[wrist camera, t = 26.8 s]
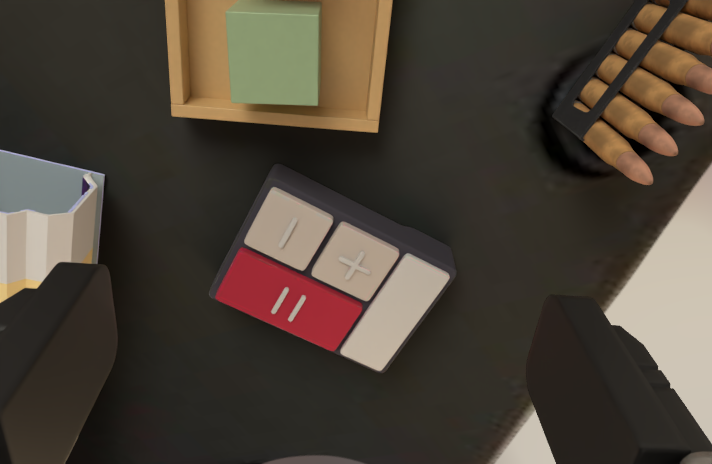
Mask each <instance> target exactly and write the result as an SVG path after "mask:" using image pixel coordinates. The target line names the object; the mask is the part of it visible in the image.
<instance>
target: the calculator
mask: <svg viewBox="0 0 712 464" xmlns="http://www.w3.org/2000/svg"><path fill="white" fill-rule="evenodd" d="M456 275H457V270H456V266H455V262H454V258H453V254H452V250H451V248H450V247H449V246H447V245H445V244H443V243H441V242H439V241H438V240H436V239H434V238H432V237H430V236H428V235H426V234H424V233H422V232H420V231H418V230H416V229H414V228H412V227H406V226H402V225H400V224H398V223H396V222H394V221H392V220H390V219H388V218H386V217H384V216H382V215H380V214H378V213H376V212H374V211H372V210H370V209H368V208H366V207H364V206H362V205H360V204H358V203H357V202H355V201H353V200H351V199H349V198H347V197H345V196H343V195H341V194H339V193H337V192H335V191H333V190H331V189H329V188H327V187H325V186H323V185H321V184H319V183H317V182H315V181H313V180H311V179H310V178H308V177H306V176H304V175H302V174H300V173H298V172H296V171H294V170H292V169H290V168H288V167H286V166H284V165H282V164H279V163H277V164H274V165H273V167H272V168H271V170H270V172H269V174H268V176H267V178H266V180H265V182H264V184H263V186H262V187H261V189H260V191H259V193H258V195H257V197H256V199H255V201H254V203H253V205H252V207H251V209H250V211H249V213H248V215H247V216H246V218H245V220H244V222H243V224H242V226H241V228H240V230H239V232H238V234H237V236H236V238H235V240H234V242H233V244H232V245H231V247H230V249H229V251H228V253H227V255H226V257H225V259H224V261H223V263H222V265H221V267H220V269H219V271H218V273H217V275H216V277H215V279H214V282H213V284H212V286H211V288H210V291H209V296H210V297H211V298H213V299H215V300H217V301H219V302H221V303H223V304H226V305H228V306H230V307H232V308H235V309H237V310H239V311H241V312H244V313H246V314H248V315H250V316H253V317H255V318H257V319H259V320H261V321H264V322H266V323H268V324H270V325H273V326H275V327H277V328H279V329H282V330H284V331H286V332H288V333H290V334H293V335H295V336H297V337H299V338H302V339H304V340H306V341H308V342H311V343H313V344H315V345H317V346H319V347H322V348H324V349H326V350H328V351H331V352H333V353H335V354H337V355H340V356H342V357H344V358H346V359H349V360H351V361H353V362H355V363H357V364H360V365H362V366H364V367H366V368H369V369H371V370H373V371H375V372H378V373H383V372H385V371H386V370H387V368H388V367H389V366H390V364H391V363H392V362H393V360H394V359H395V358H396V356H397V355H398V354H399V352H400V351H401V350H402V348H403V347H404V346H405V344H406V343H407V341H408V340H409V339H410V337H411V336H412V335H413V333H414V332H415V331H416V329H417V328H418V327H419V325H420V324H421V323H422V321H423V320H424V319H425V317H426V316H427V315H428V313H429V312H430V311H431V309H432V308H433V307H434V305H435V304H436V303H437V301H438V300H439V298H440V297H441V296H442V294H443V293H444V292H445V290H446V289H447V288H448V286H449V285H450V284H451V282H452V281H453V280H454V278H455V277H456Z"/></svg>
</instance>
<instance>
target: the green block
mask: <svg viewBox="0 0 712 464" xmlns="http://www.w3.org/2000/svg"><path fill="white" fill-rule="evenodd" d="M225 15H226V30H227V46H228V62H229V78H230V93H231V103H245V104H275V105H306V106H318V103H319V94H320V86H321V27H322V3H321V2H308V1H282V0H238V1H237V2H236V3H235V4H234V5H233V6H231V7H230V8H229V9H228V10H227V11H226V12H225Z"/></svg>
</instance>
